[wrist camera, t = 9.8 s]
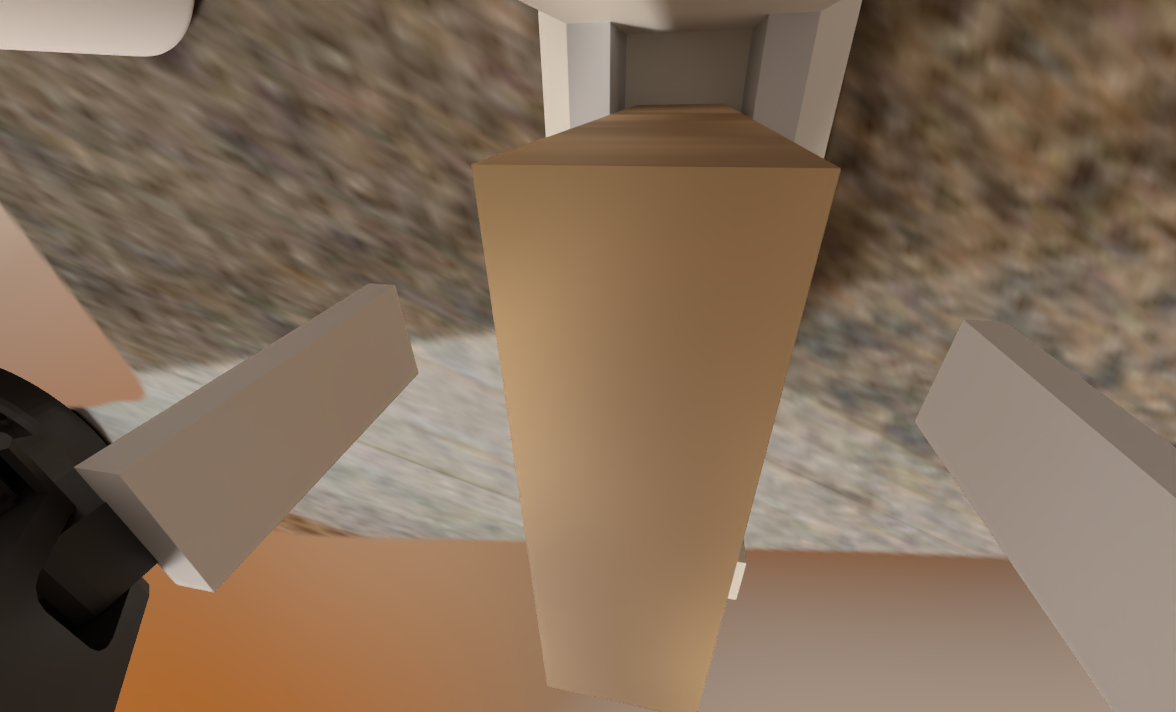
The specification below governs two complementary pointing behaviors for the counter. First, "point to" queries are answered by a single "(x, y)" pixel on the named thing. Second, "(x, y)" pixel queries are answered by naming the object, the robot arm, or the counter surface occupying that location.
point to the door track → (698, 65)
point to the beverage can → (94, 25)
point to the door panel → (645, 373)
